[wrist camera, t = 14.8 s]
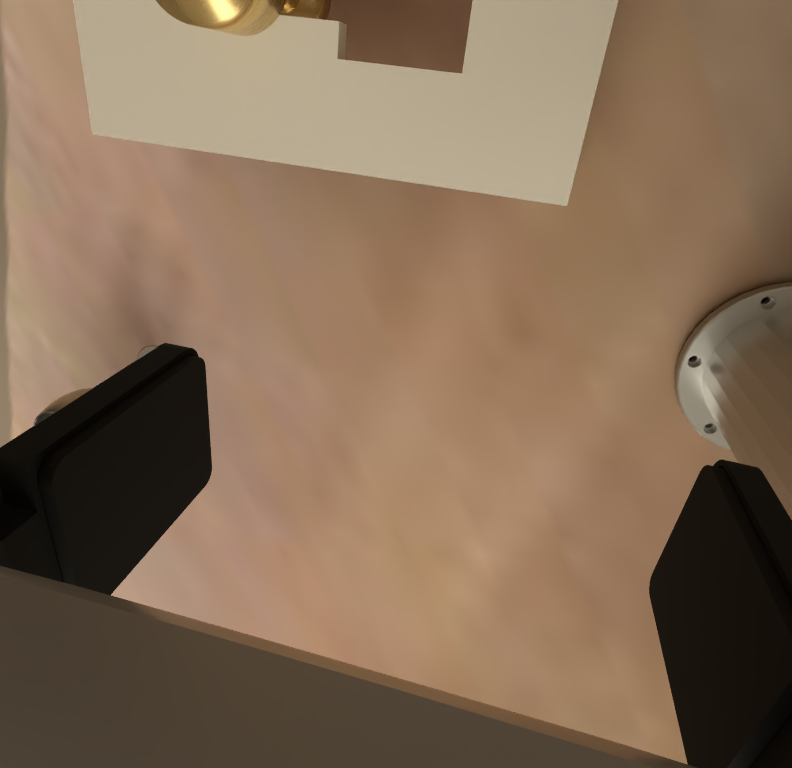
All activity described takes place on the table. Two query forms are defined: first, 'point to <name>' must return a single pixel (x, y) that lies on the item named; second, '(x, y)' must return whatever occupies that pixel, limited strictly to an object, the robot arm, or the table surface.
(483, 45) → the keyhole shelf
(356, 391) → the table surface
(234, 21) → the brass capped stopper
